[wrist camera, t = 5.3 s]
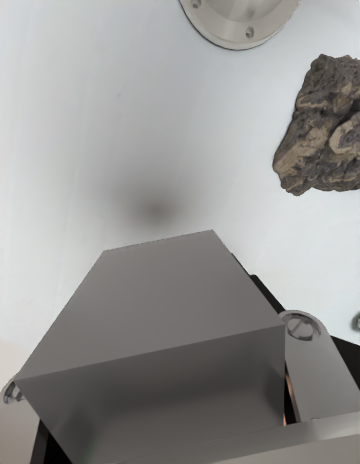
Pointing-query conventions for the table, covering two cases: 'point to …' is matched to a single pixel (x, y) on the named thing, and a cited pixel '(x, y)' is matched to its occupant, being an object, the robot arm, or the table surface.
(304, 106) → the rock specimen
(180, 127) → the table surface
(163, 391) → the grey cube
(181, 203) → the table surface
